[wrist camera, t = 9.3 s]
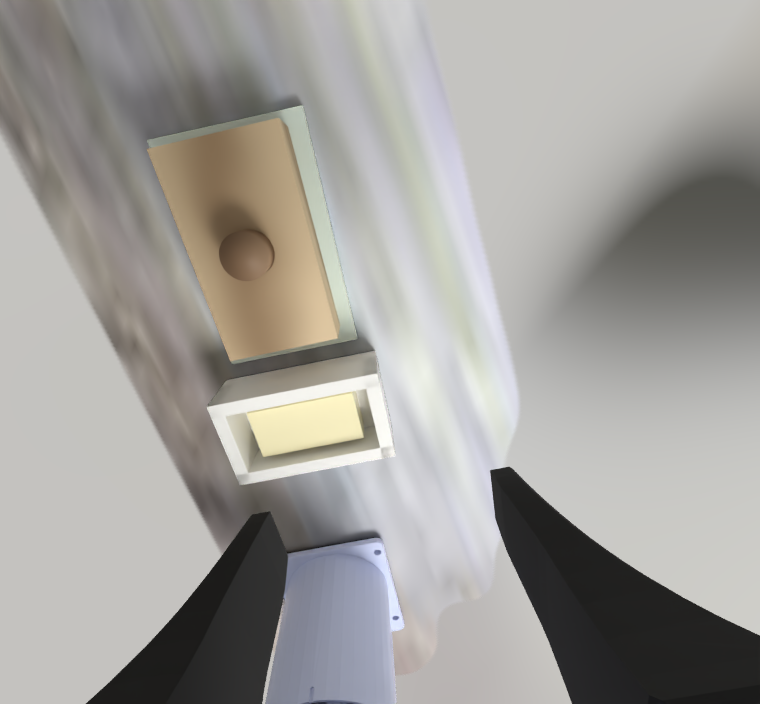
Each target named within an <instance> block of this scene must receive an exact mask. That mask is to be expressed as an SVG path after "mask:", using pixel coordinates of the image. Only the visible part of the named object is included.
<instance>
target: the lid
mask: <svg viewBox="0 0 760 704" xmlns="http://www.w3.org/2000/svg"><path fill="white" fill-rule="evenodd" d="M147 151H148V154H149V156H150V159H151V161H152V164H153V166H154V169H155V171H156V174H157V177H158V179H159V182H160V184H161V187H162V189H163V192H164V194H165V197H166V199H167V202H168V204H169V207H170V210H171V212H172V215H173V217H174V220H175V222H176V225H177V227H178V230H179V232H180V235H181V237H182V240H183V243H184V245H185V248H186V250H187V253H188V255H189V258H190V260H191V263H192V265H193V268H194V270H195V273H196V276H197V278H198V281H199V283H200V286H201V288H202V291H203V293H204V296H205V298H206V301H207V303H208V306H209V309H210V311H211V314H212V316H213V319H214V321H215V324H216V326H217V329H218V331H219V334H220V337H221V339H222V342H223V344H224V347H225V349H226V352H227V354H228V357H229V359H230V361H234V360H239V359H244V358H248V357H253V356H258V355H262V354H267V353H272V352H277V351H281V350H286V349H291V348H295V347H300V346H305V345H309V344H314V343H319V342H323V341H328V340H333V339H338V335H339V330H340V323H339V319H338V315H337V311H336V308H335V304H334V300H333V296H332V292H331V289H330V285H329V281H328V277H327V273H326V270H325V266H324V262H323V258H322V254H321V251H320V247H319V243H318V239H317V235H316V232H315V228H314V224H313V220H312V216H311V213H310V209H309V205H308V201H307V197H306V194H305V190H304V186H303V182H302V178H301V174H300V171H299V167H298V163H297V159H296V155H295V152H294V148H293V144H292V140H291V136H290V133H289V129H288V126H287V125H286V124H285V123H284V122H283V121H282V120H281V119H279V118H275V119H271V120H267V121H262V122H258V123H254V124H250V125H245V126H241V127H237V128H233V129H229V130H224V131H220V132H216V133H212V134H208V135H203V136H199V137H195V138H191V139H187V140H182V141H178V142H174V143H170V144H166V145H161V146H157V147H153V148H149V149H147Z"/></svg>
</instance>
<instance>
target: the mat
mask: <svg viewBox="0 0 760 704" xmlns="http://www.w3.org/2000/svg"><path fill="white" fill-rule="evenodd" d="M275 118H279V119H281V120H282V121H283V122H284V123H285V124H286V125H287V126H288V129H289V133H290V136H291V140H292V144H293V148H294V152H295V155H296V159H297V163H298V167H299V171H300V174H301V178H302V182H303V186H304V190H305V194H306V197H307V201H308V205H309V209H310V213H311V216H312V220H313V224H314V228H315V232H316V235H317V239H318V243H319V247H320V251H321V254H322V258H323V262H324V266H325V270H326V273H327V277H328V281H329V285H330V289H331V292H332V296H333V300H334V304H335V308H336V311H337V315H338V319H339V323H340V330H339V335H338V339H333V340H328V341H323V342H319V343H314V344H309V345H305V346H300V347H295V348H291V349H286V350H281V351H277V352H272V353H267V354H262V355H258V356H253V357H248V358H244V359H239V360H234V361H231V363H232V364H237V363H242V362H247V361H252V360H257V359H262V358H267V357H272V356H277V355H282V354H287V353H292V352H297V351H302V350H307V349H311V348H316V347H321V346H326V345H331V344H336V343H341V342H346V341H351V340H356V339H357V333H356V329H355V324H354V320H353V316H352V312H351V307H350V303H349V299H348V295H347V290H346V286H345V282H344V278H343V273H342V269H341V265H340V261H339V256H338V252H337V248H336V244H335V239H334V235H333V231H332V226H331V222H330V218H329V214H328V209H327V205H326V201H325V197H324V192H323V188H322V184H321V180H320V175H319V171H318V167H317V163H316V158H315V154H314V150H313V145H312V141H311V137H310V133H309V128H308V124H307V120H306V116H305V111H304V107H303V106H302V105H301V106H297V107H292V108H288V109H283V110H279V111H274V112H270V113H265V114H261V115H256V116H252V117H247V118H243V119H238V120H234V121H230V122H225V123H221V124H216V125H212V126H207V127H203V128H198V129H194V130H189V131H185V132H180V133H176V134H171V135H167V136H162V137H158V138H154V139H149V140H147V142H148V145H149V147H150V148H153V147H157V146H161V145H166V144H170V143H174V142H178V141H182V140H187V139H191V138H195V137H199V136H203V135H208V134H212V133H216V132H220V131H224V130H229V129H233V128H237V127H241V126H245V125H250V124H254V123H258V122H262V121H267V120H271V119H275Z"/></svg>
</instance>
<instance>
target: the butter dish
mask: <svg viewBox="0 0 760 704" xmlns="http://www.w3.org/2000/svg"><path fill="white" fill-rule="evenodd" d="M207 409H208V412H209V414H210V416H211V419H212V421H213V423H214V426H215V428H216V430H217V433H218V435H219V437H220V440H221V442H222V444H223V447H224V449H225V451H226V454H227V456H228V459H229V461H230V463H231V466H232V468H233V470H234V473H235V475H236V477H237V480H238V482H239V484H240V485H246V484H251V483H256V482H261V481H267V480H272V479H277V478H283V477H288V476H293V475H298V474H304V473H309V472H314V471H319V470H325V469H330V468H335V467H341V466H346V465H351V464H356V463H362V462H367V461H372V460H378V459H383V458H388V457H393V456H395V448H394V440H393V432H392V425H391V420H390V415H389V411H388V406H387V402H386V397H385V393H384V388H383V383H382V379H381V374H380V370H379V365H378V361H377V356H376V352H375V351H370V352H365V353H360V354H355V355H350V356H345V357H340V358H335V359H330V360H325V361H320V362H315V363H310V364H305V365H300V366H295V367H290V368H285V369H280V370H275V371H270V372H265V373H260V374H255V375H250V376H245V377H240V378H235V379H230V380H226V381H225V383H224V384H223V386H222V387H221V388H220V390H219V391H218V392H217V394H216V395H215V396H214V398H213V399H212V400H211V402H210V403H209V404H208V406H207Z"/></svg>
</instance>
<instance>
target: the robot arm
mask: <svg viewBox="0 0 760 704" xmlns="http://www.w3.org/2000/svg"><path fill="white" fill-rule="evenodd" d="M490 473H491V482H492V491H493V500H494V509H495V519H496V521H497V524H498V527H499V530H500V533H501V536H502V539H503V542H504V544H505V547H506V550H507V552H508V554H509V557H510V558H511V561H512V563H513V565H514V567H515V569H516V571H517V574H518V576H519V578H520V580H521V582H522V584H523V586H524V588H525V590H526V593H527V595H528V597H529V599H530V601H531V603H532V605H533V607H534V610H535V612H536V614H537V616H538V618H539V620H540V622H541V624H542V627H543V629H544V631H545V634H546V636H547V638H548V640H549V643H550V645H551V648H552V651H553V653H554V656H555V659H556V661H557V664H558V667H559V669H560V672H561V675H562V677H563V680H564V683H565V685H566V688H567V691H568V693H569V696H570V699H571V701H572V704H760V636H759V635H757V634H755V633H753V632H751V631H749V630H746V629H744V628H742V627H740V626H738V625H736V624H734V623H731V622H730V621H727V620H725V619H723V618H721V617H719V616H717V615H715V614H713V613H711V612H709V611H708V610H706V609H704V608H702V607H700V606H698V605H696V604H694V603H692V602H690V601H689V600H687V599H685V598H683V597H681V596H680V595H678V594H676V593H674V592H673V591H671V590H669V589H668V588H666V587H664V586H662V585H661V584H659V583H657V582H656V581H654V580H652V579H650V578H649V577H647V576H645V575H643V574H642V573H641V572H639V571H637V570H636V569H634V568H633V567H631V566H630V565H628V564H627V563H625V562H623V561H622V560H620V559H619V558H618V557H616V556H615V555H613V554H612V553H610V552H609V551H608V550H606V549H605V548H603V547H602V546H601V545H599V544H598V543H596V542H595V541H594V540H592V539H591V538H590V537H588V536H587V535H586V534H585V533H583V532H582V531H581V530H580V529H578V528H577V527H576V526H574V525H573V524H572V523H571V522H570V521H568V520H567V519H566V518H565V517H564V516H562V515H561V514H560V513H559V512H558V511H557V510H555V509H554V508H553V507H552V506H551V505H549V503H547V502H546V501H545V500H544V499H543V498H542V497H541V496H540V495H539V494H537V493H536V492H535V491H534V490H533V489H532V488H531V487H530V486H529V485H528V484H527V483H526V482H525V481H524V480H523V479H522V478H521V477H520V476H519V475H518V474H517V473H516V472H515V471H514V470H513V469H512V468H510V467H506V468H500V469H495V470H490ZM283 597H284V600H285V604H284V609H283V614H282V619H281V624H280V630H279V635H278V640H277V645H276V651H275V656H274V661H273V666H272V672H271V677H270V682H269V687H268V693H267V697H266V703H265V704H397V701H396V686H395V670H394V655H393V640H392V631H397V630H401V629H403V628H404V619H403V615H402V612H401V608H400V604H399V600H398V597H397V593H396V589H395V585H394V581H393V578H392V574H391V570H390V566H389V563H388V559H387V555H386V551H385V548H384V544H383V541H382V540H381V539H380V538H371V539H366V540H360V541H355V542H349V543H344V544H338V545H333V546H327V547H322V548H316V549H311V550H305V551H300V552H294V553H289V554H287V552H286V550H285V547H284V545H283V542H282V540H281V537H280V535H279V532H278V530H277V527H276V525H275V522H274V520H273V517H272V515H271V512H264V513H259V514H253V515H251V517H250V518H249V519H248V521H247V522H246V523H245V525H244V526H243V528H242V529H241V530H240V532H239V533H238V534H237V536H236V537H235V539H234V540H233V541H232V543H231V544H230V545H229V547H228V548H227V550H226V551H225V552H224V554H223V555H222V556H221V558H220V559H219V560H218V562H217V563H216V564H215V566H214V567H213V568H212V570H211V571H210V573H209V574H208V575H207V576H206V578H205V579H204V580H203V581H202V582H201V584H200V585H199V586H198V588H197V589H196V590H195V591H194V592H193V594H192V595H191V596H190V597H189V599H188V600H187V601H186V602H185V604H184V605H183V606H182V607H181V608H180V609H179V611H178V612H177V613H176V614H175V615H174V616H173V618H172V619H171V620H170V621H169V622H168V623H167V624H166V625H165V626H164V628H163V629H162V630H161V631H160V632H159V633H158V634H157V635H156V636H155V637H154V638H153V639H152V641H151V642H150V643H149V644H148V645H147V646H146V647H145V648H144V649H143V650H142V651H141V652H140V653H139V654H138V655H137V656H136V657H135V658H134V659H133V660H132V661H131V662H130V663H129V664H128V665H127V666H126V667H125V668H123V669H122V670H121V671H120V673H118V674H117V675H116V676H115V677H114V678H113V679H112V680H111V681H110V682H109V683H108V684H107V685H106V686H105V687H104V688H103V689H102V690H100V691H99V692H98V693H97V694H96V695H95V696H94V697H93V698H92V699H91V700H89V701H88V702H87V703H86V704H262V701H263V693H264V687H265V681H266V676H267V670H268V666H269V662H270V657H271V653H272V648H273V643H274V639H275V634H276V630H277V625H278V621H279V616H280V611H281V607H282V602H283Z"/></svg>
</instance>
